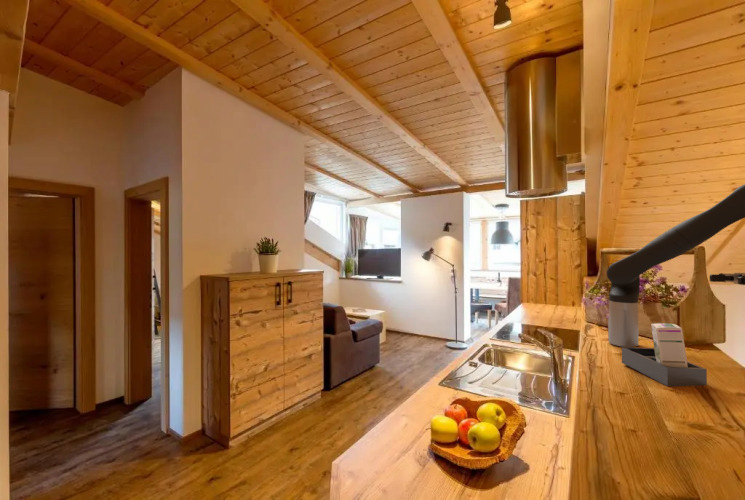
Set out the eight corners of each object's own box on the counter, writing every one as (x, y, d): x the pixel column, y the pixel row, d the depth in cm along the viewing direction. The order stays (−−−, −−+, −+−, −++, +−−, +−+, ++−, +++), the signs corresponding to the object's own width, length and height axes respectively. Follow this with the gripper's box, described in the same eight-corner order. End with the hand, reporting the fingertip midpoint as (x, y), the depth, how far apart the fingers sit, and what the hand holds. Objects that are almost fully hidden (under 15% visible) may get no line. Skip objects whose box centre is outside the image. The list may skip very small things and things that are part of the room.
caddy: (621, 362, 105) (621, 347, 105) (653, 363, 104) (653, 348, 104) (667, 386, 87) (667, 367, 87) (706, 387, 86) (706, 369, 86)
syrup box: (690, 381, 87) (684, 327, 87) (662, 379, 90) (656, 327, 90) (682, 374, 92) (676, 323, 92) (656, 372, 95) (650, 322, 95)
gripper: (759, 265, 100) (702, 265, 102) (817, 268, 86) (750, 268, 87) (759, 289, 100) (702, 289, 102) (817, 296, 86) (750, 295, 87)
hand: (724, 279), depth 95 cm, fingers open, 8 cm apart
